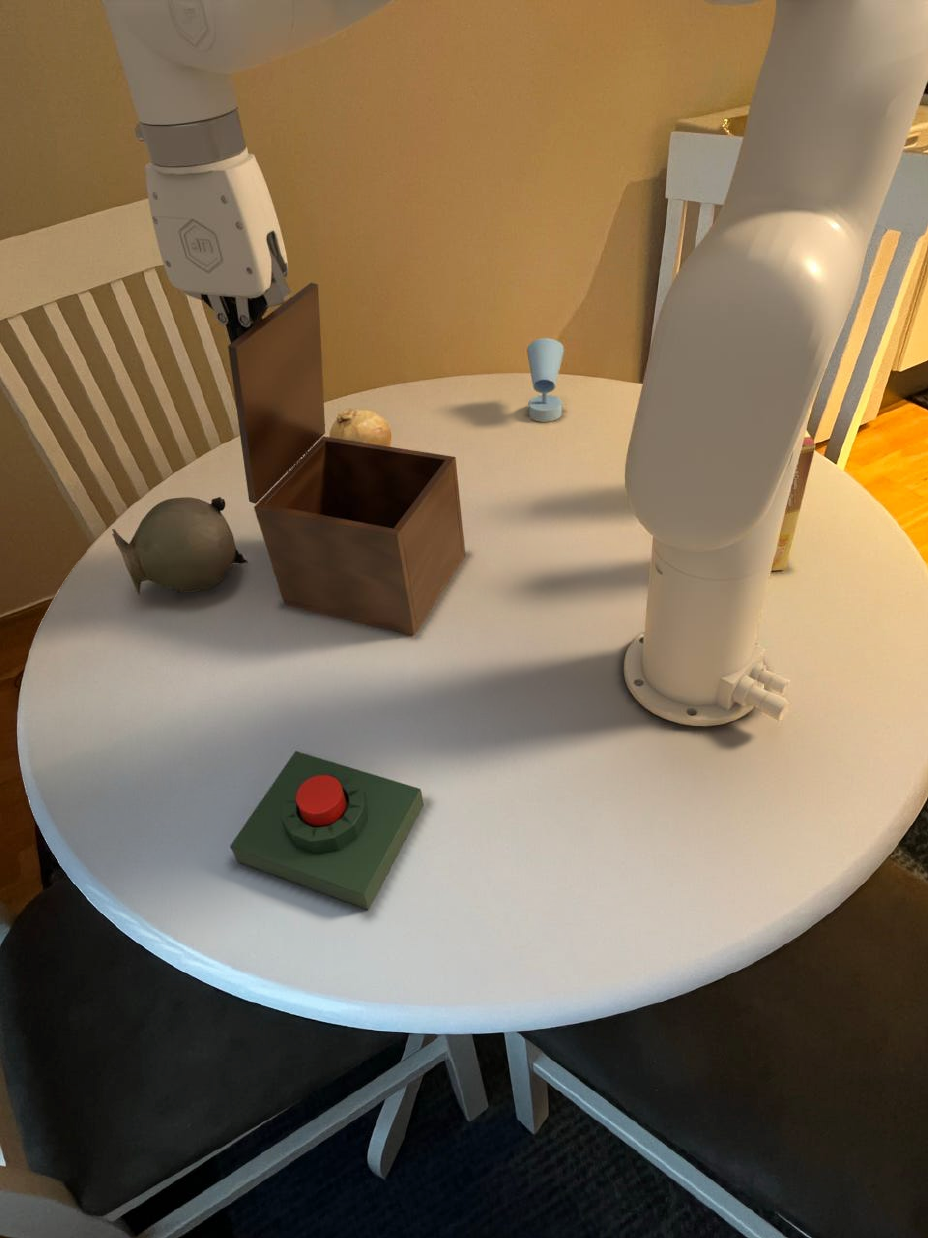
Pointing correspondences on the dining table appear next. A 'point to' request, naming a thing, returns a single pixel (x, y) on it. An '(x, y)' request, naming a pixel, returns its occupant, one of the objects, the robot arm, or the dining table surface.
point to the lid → (279, 390)
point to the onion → (361, 427)
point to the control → (330, 831)
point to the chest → (365, 532)
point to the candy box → (794, 504)
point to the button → (321, 800)
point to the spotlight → (545, 378)
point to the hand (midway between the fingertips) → (254, 360)
